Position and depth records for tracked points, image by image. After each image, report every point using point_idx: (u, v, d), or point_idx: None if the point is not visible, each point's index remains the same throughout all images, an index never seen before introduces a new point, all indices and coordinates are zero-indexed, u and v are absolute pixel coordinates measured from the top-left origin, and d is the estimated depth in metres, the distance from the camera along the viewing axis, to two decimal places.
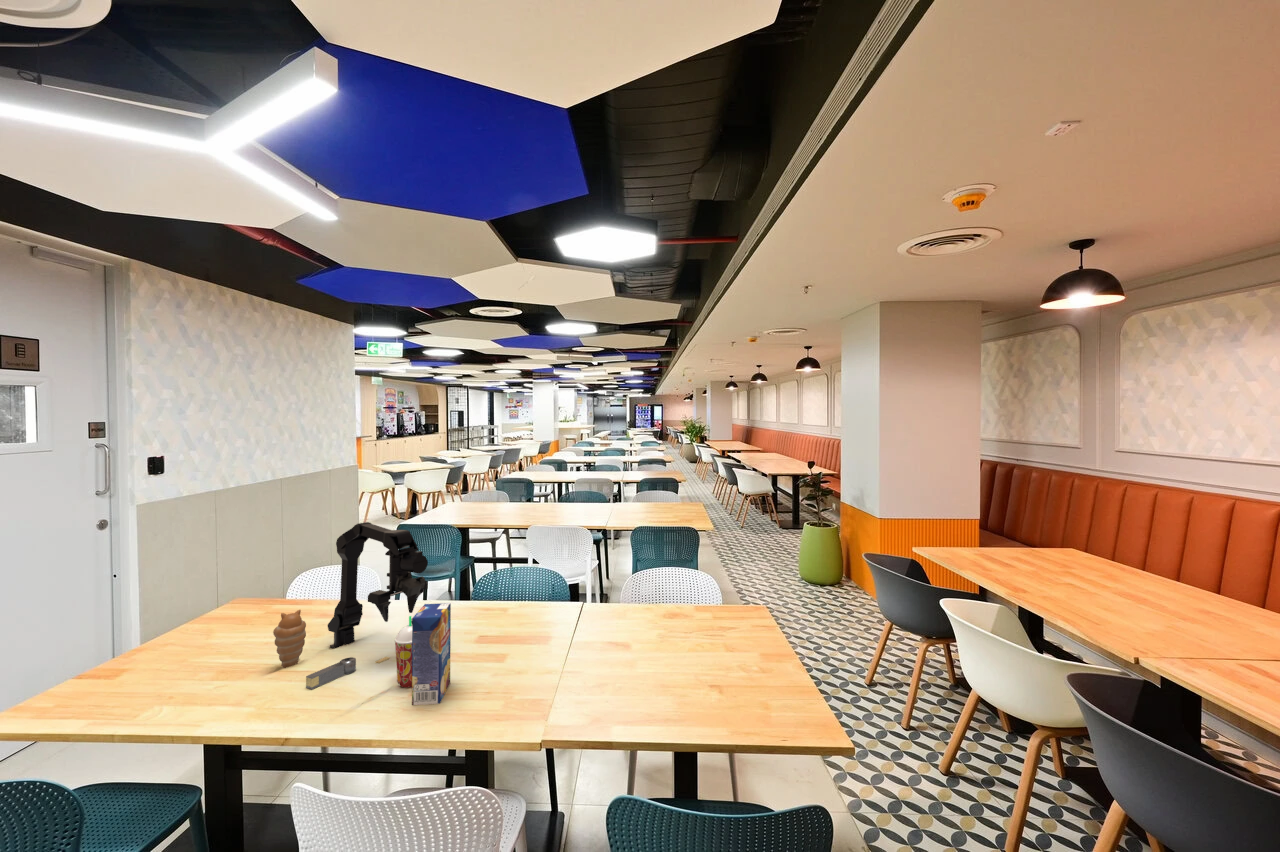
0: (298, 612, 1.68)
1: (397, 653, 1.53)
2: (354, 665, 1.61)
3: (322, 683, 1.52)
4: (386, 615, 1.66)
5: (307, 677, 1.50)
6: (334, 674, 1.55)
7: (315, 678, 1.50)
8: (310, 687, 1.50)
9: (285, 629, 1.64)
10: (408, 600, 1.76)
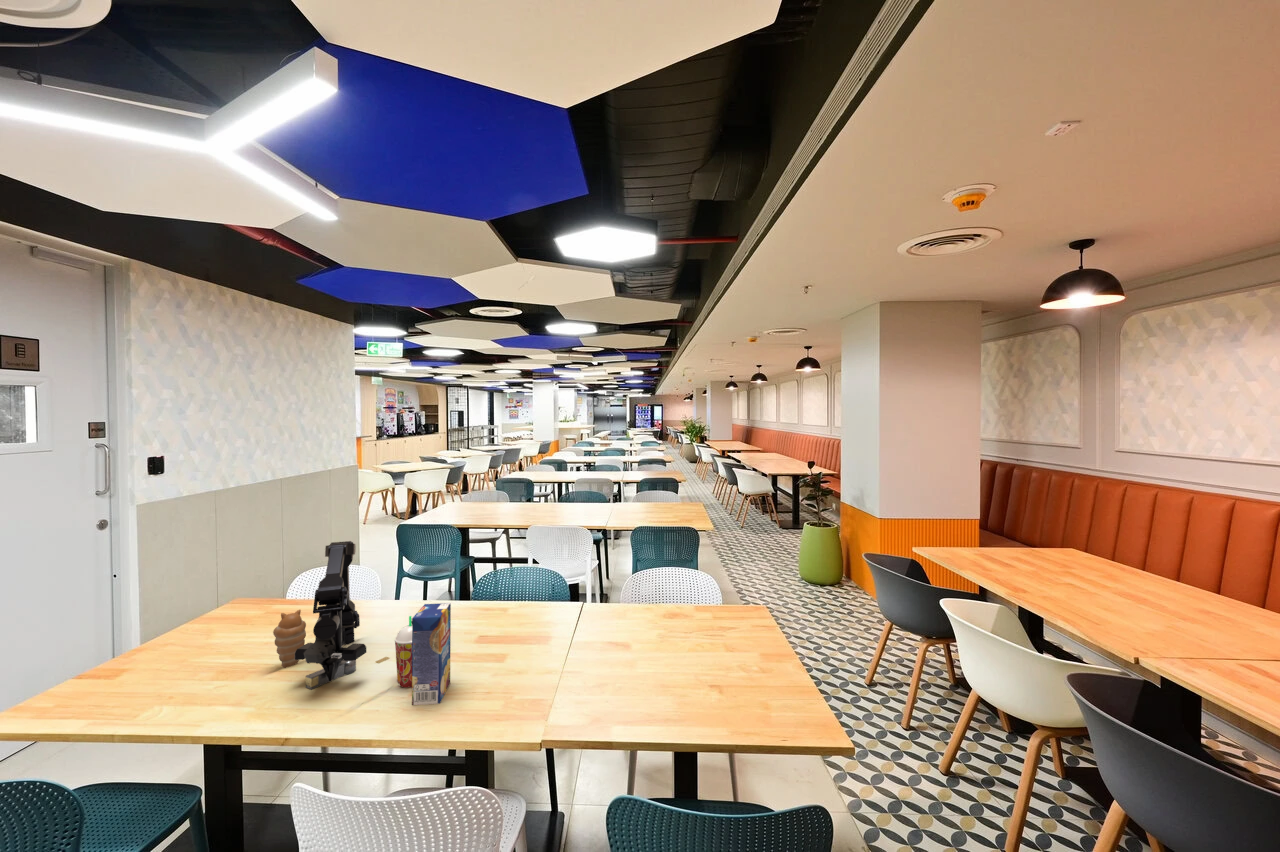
0: (298, 612, 1.68)
1: (397, 653, 1.53)
2: (354, 665, 1.61)
3: (322, 683, 1.52)
4: (327, 674, 1.52)
5: (307, 677, 1.50)
6: None
7: (315, 678, 1.50)
8: (310, 687, 1.50)
9: (285, 629, 1.64)
10: None
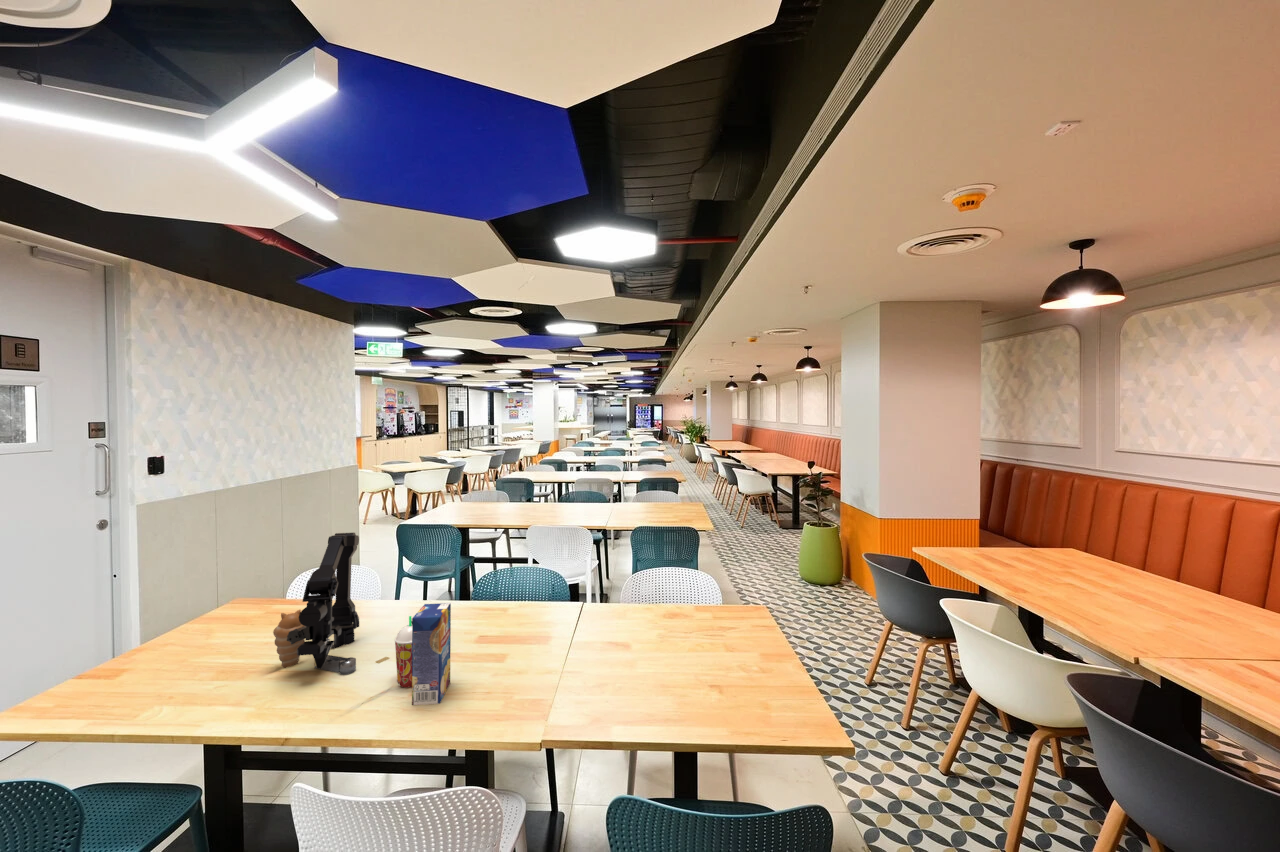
0: (298, 612, 1.68)
1: (397, 653, 1.53)
2: (344, 668, 1.59)
3: (322, 668, 1.62)
4: None
5: None
6: (331, 666, 1.61)
7: None
8: None
9: (285, 629, 1.64)
10: None
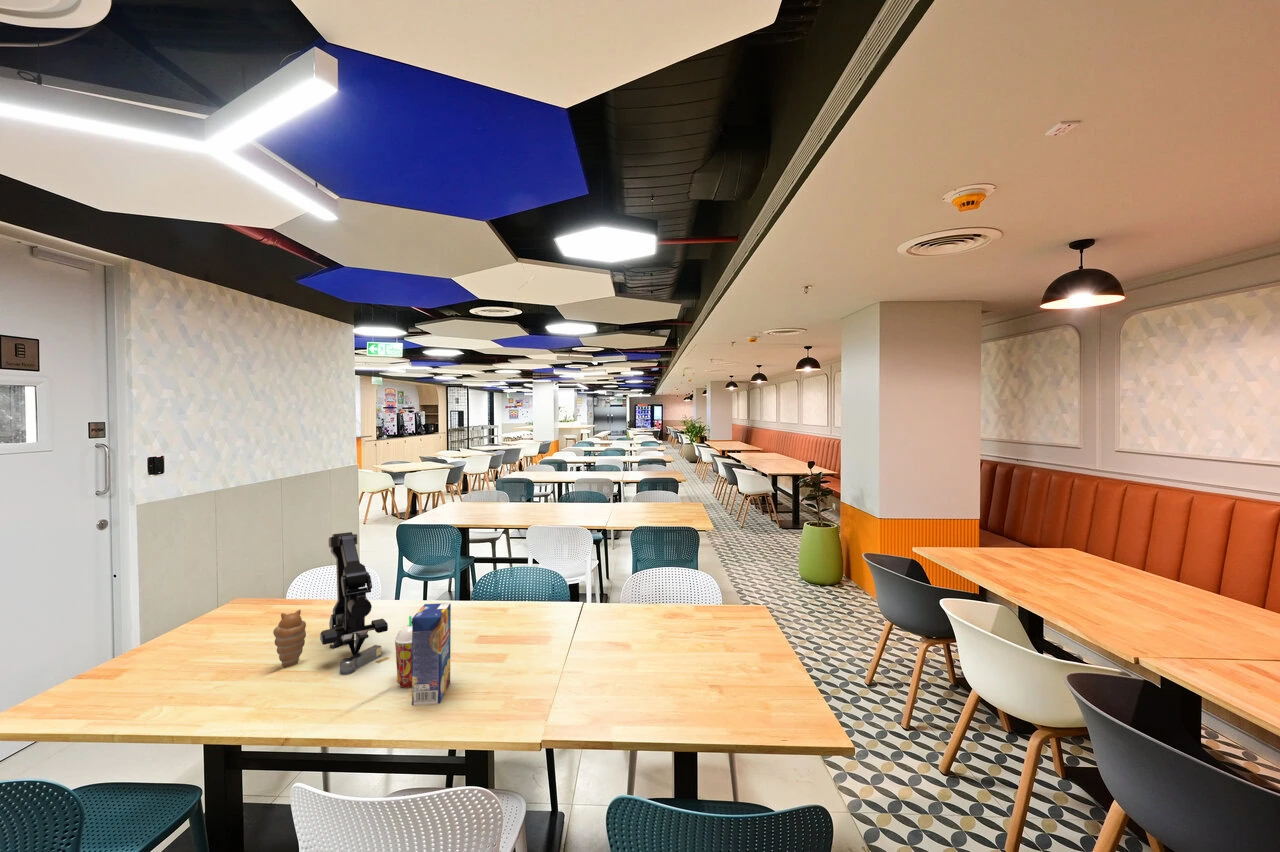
0: (298, 612, 1.68)
1: (397, 653, 1.53)
2: None
3: None
4: None
5: None
6: None
7: None
8: None
9: (285, 629, 1.64)
10: None
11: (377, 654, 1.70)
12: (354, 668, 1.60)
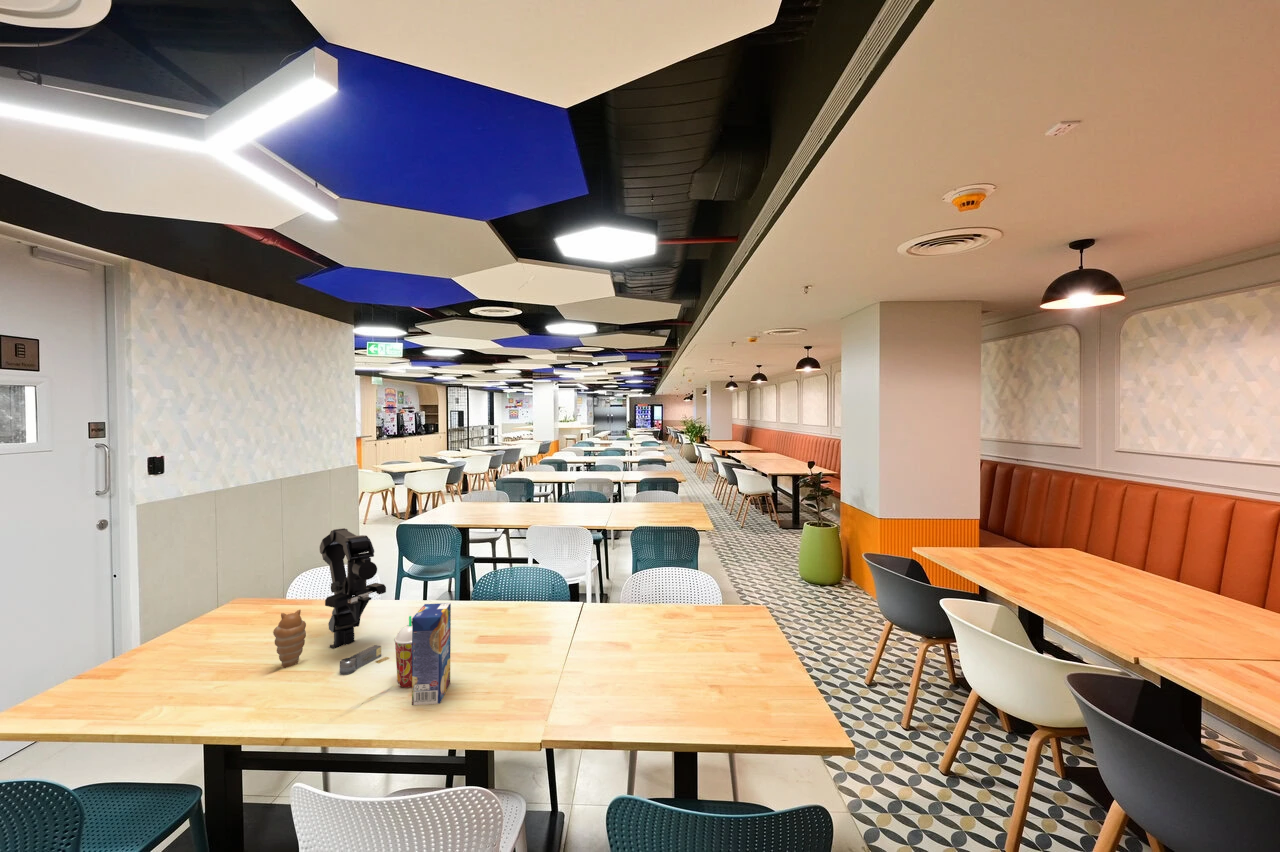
0: (298, 612, 1.68)
1: (397, 653, 1.53)
2: None
3: None
4: None
5: None
6: None
7: None
8: None
9: (285, 629, 1.64)
10: None
11: (377, 654, 1.70)
12: (354, 668, 1.60)
